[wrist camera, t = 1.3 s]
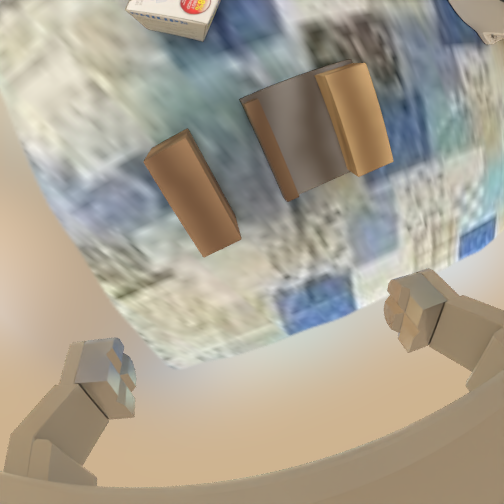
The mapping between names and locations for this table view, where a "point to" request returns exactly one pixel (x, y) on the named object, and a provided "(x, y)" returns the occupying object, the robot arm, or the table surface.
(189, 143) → the walnut plank
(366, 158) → the floor section
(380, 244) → the table surface
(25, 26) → the table surface
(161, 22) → the light bulb box
